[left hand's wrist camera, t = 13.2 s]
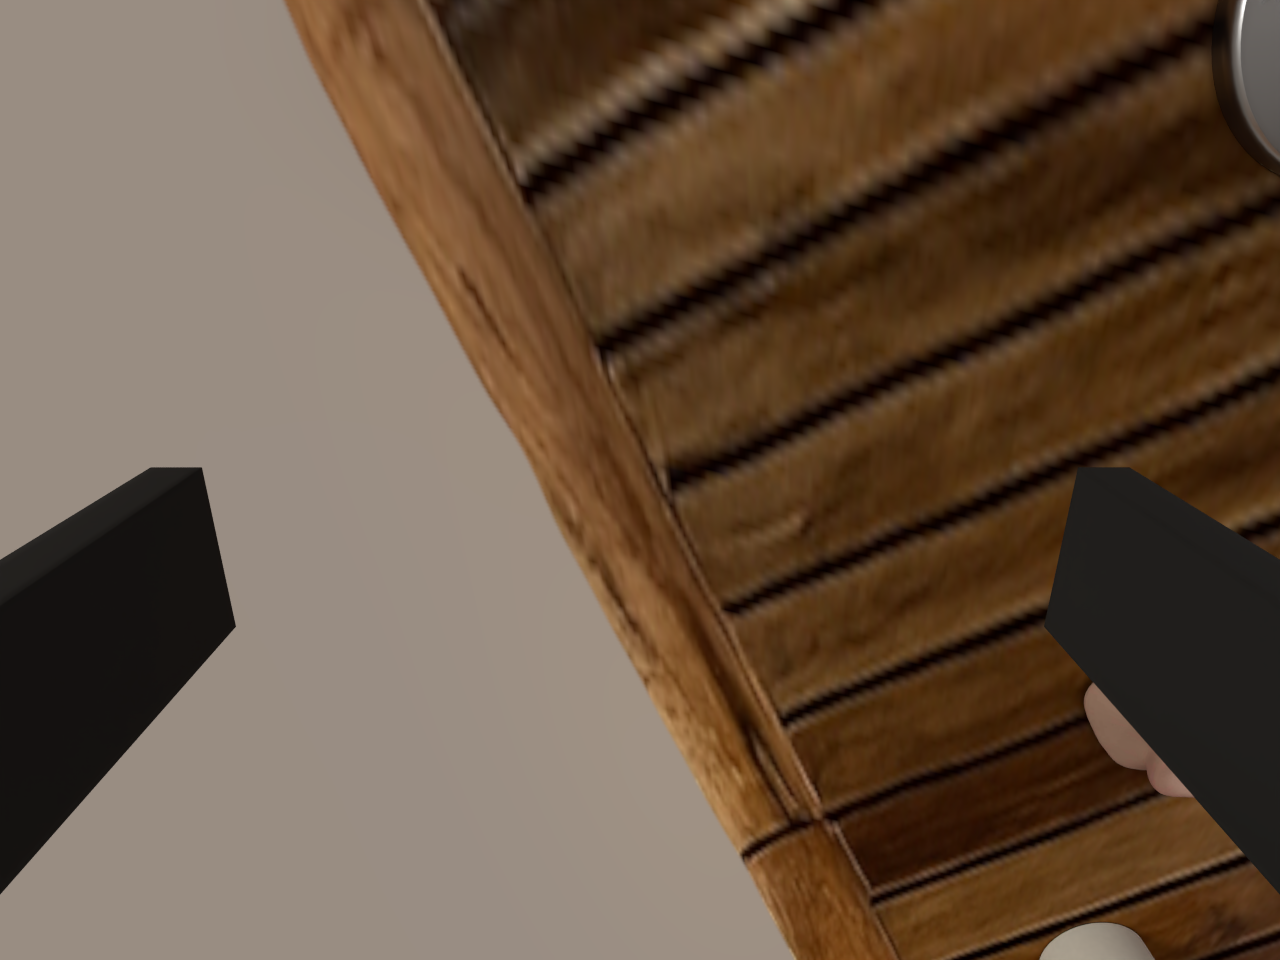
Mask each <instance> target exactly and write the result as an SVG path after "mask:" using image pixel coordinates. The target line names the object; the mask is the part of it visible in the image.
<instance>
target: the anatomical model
mask: <svg viewBox="0 0 1280 960" xmlns="http://www.w3.org/2000/svg"><path fill="white" fill-rule="evenodd" d="M1084 706H1085V711H1086V714H1087V717H1088V720H1089V722H1090V724H1091V726H1092V728H1093V731H1094V733H1095V735H1096V737H1097V739H1098V740H1099V742H1100V744H1101V745H1102V746H1103V747H1104V749H1105V750H1106V751H1107V753H1108V754H1109V755H1110V757H1111V758H1112V759H1113V760H1114V761H1116V762H1117V763H1118V764H1120V765H1122V766H1124V767H1127V768H1131V769H1138V770H1147V773H1148V778H1149V781H1150V783H1151V785H1152V786H1153V787H1154V788H1155V789H1156V790H1157V791H1158V792H1159V793H1161V794H1164V795H1167V796H1174V797H1194V796H1193V795H1192V794H1191V793H1190V792H1189V791H1188V789H1187V788H1186V787H1185V786H1184V785H1183V784H1182V783H1181V782H1180V780H1179V779H1178V778H1177V777H1176V776H1175V775H1174V774H1173V772H1172V771H1171V770H1170V769H1169V768H1168V767H1167V766H1166V764H1165V763H1164V762H1163V761H1162V760H1161V759H1160V758H1159V757H1158V755H1157V754H1156V753H1155V752H1154V751H1153V750H1152V749H1151V747H1150V746H1149V745H1148V744H1147V743H1146V742H1145V741H1144V739H1143V738H1142V737H1141V736H1140V735H1139V734H1138V733H1137V732H1136V730H1135V729H1134V728H1133V727H1132V726H1131V725H1130V724H1129V722H1128V721H1127V720H1126V719H1125V718H1124V717H1123V716H1122V714H1121V713H1120V712H1119V711H1118V710H1117V709H1116V708H1115V707H1114V705H1113V704H1112V703H1111V702H1110V701H1109V700H1108V699H1107V697H1106V696H1105V695H1104V694H1103V693H1102V692H1101V691H1100V689H1099V688H1098V687H1097V686H1096V685H1095V684H1094V683H1092V684H1091V685H1090V687H1089V688H1088V690H1087V692H1086V694H1085V698H1084Z"/></svg>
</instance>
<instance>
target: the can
mask: <svg viewBox="0 0 1280 960" xmlns="http://www.w3.org/2000/svg"><path fill="white" fill-rule="evenodd" d="M1040 960H1155V959H1154V958H1153V956H1152V955H1151V953H1150V951H1149V950H1148V948H1147V947H1146V945H1145V944H1144V942H1143V941H1142V939H1141V938H1140V937H1139V936H1138V935H1137V934H1136V933H1135V932H1134V931H1132V930H1131V929H1129V928H1127V927H1125V926H1122V925H1118V924H1114V923H1091V924H1085V925H1081V926H1078V927H1075V928H1072V929H1070V930H1068V931H1066V932H1064V933H1062V934H1061V935H1059V936H1058V937H1056V938H1055V939H1054V940H1053V941H1051V942H1050V943H1049V944H1048V946H1047V947H1046V948H1045V949H1044V951H1043V952H1042V955H1041V957H1040Z"/></svg>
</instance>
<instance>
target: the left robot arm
mask: <svg viewBox="0 0 1280 960" xmlns="http://www.w3.org/2000/svg"><path fill="white" fill-rule="evenodd" d="M1212 70H1213V78H1214V85H1215V90H1216V94H1217V98H1218V102H1219V105H1220V107H1221V110H1222V113H1223V116H1224V118H1225V120H1226V122H1227V124H1228V126H1229V128H1230V130H1231V131H1232V133H1233V134H1234V136H1235V138H1236V139H1237V141H1238V142H1239V143H1240V144H1241V145H1242V147H1243V148H1244V149H1245V150H1246V151H1247V153H1249V154H1250V155H1251V156H1252V157H1253V158H1254V159H1255V160H1256V161H1257V162H1259V163H1260V164H1261V165H1263V166H1264V167H1266V168H1267V169H1269V170H1270V171H1272V172H1274V173H1276V174H1278V175H1280V0H1219V1H1218V5H1217V9H1216V14H1215V21H1214V27H1213V37H1212ZM235 627H236V625H235V620H234V616H233V611H232V606H231V602H230V597H229V592H228V588H227V583H226V579H225V574H224V569H223V564H222V560H221V555H220V550H219V546H218V541H217V536H216V531H215V527H214V522H213V517H212V513H211V508H210V503H209V499H208V494H207V489H206V485H205V480H204V475H203V471H202V468H149V469H148V470H146V471H144V472H143V473H141V474H139V475H138V476H136V477H134V478H133V479H131V480H130V481H128V482H126V483H125V484H123V485H121V486H120V487H118V488H116V489H115V490H113V491H112V492H110V493H108V494H107V495H105V496H103V497H102V498H100V499H99V500H97V501H95V502H94V503H92V504H90V505H89V506H87V507H86V508H84V509H82V510H81V511H79V512H77V513H76V514H74V515H72V516H71V517H69V518H68V519H66V520H64V521H63V522H61V523H59V524H58V525H56V526H55V527H53V528H51V529H50V530H48V531H46V532H45V533H43V534H42V535H40V536H38V537H37V538H35V539H33V540H32V541H30V542H28V543H27V544H25V545H24V546H22V547H20V548H19V549H17V550H15V551H14V552H12V553H11V554H9V555H7V556H6V557H4V558H3V559H1V560H0V894H1V893H2V892H3V891H4V889H5V888H6V887H7V886H8V885H9V884H10V883H11V881H12V880H13V879H14V878H15V877H16V876H17V875H18V874H19V872H20V871H21V870H22V869H23V868H24V867H25V866H26V864H27V863H28V862H29V861H30V860H31V859H32V858H33V857H34V855H35V854H36V853H37V852H38V851H39V850H40V849H41V847H42V846H43V845H44V844H45V843H46V842H47V841H48V839H49V838H50V837H51V836H52V835H53V834H54V833H55V832H56V830H57V829H58V828H59V827H60V826H61V825H62V824H63V822H64V821H65V820H66V819H67V818H68V817H69V816H70V814H71V813H72V812H73V811H74V810H75V809H76V808H77V807H78V805H79V804H80V803H81V802H82V801H83V800H84V799H85V797H86V796H87V795H88V794H89V793H90V792H91V791H92V789H93V788H94V787H95V786H96V785H97V784H98V783H99V782H100V780H101V779H102V778H103V777H104V776H105V775H106V774H107V772H108V771H109V770H110V769H111V768H112V767H113V766H114V764H115V763H116V762H117V761H118V760H119V759H120V758H121V757H122V755H123V754H124V753H125V752H126V751H127V750H128V749H129V747H130V746H131V745H132V744H133V743H134V742H135V741H136V739H137V738H138V737H139V736H140V735H141V734H142V733H143V732H144V730H145V729H146V728H147V727H148V726H149V725H150V724H151V722H152V721H153V720H154V719H155V718H156V717H157V716H158V714H159V713H160V712H161V711H162V710H163V709H164V708H165V707H166V705H167V704H168V703H169V702H170V701H171V700H172V699H173V697H174V696H175V695H176V694H177V693H178V692H179V691H180V689H181V688H182V687H183V686H184V685H185V684H186V683H187V681H188V680H189V679H190V678H191V677H192V676H193V675H194V674H195V672H196V671H197V670H198V669H199V668H200V667H201V666H202V664H203V663H204V662H205V661H206V660H207V659H208V658H209V656H210V655H211V654H212V653H213V652H214V651H215V650H216V648H217V647H218V646H219V645H220V644H221V643H222V642H223V641H224V639H225V638H226V637H227V636H228V635H229V634H230V633H231V631H232V630H233V629H234V628H235ZM1044 627H1045V628H1046V629H1047V630H1048V632H1049V633H1050V634H1051V635H1052V636H1053V637H1054V638H1055V639H1056V641H1057V642H1058V643H1059V644H1060V645H1061V646H1062V647H1063V649H1064V650H1065V651H1066V652H1067V653H1068V654H1069V655H1070V657H1071V658H1072V659H1073V660H1074V661H1075V662H1076V663H1077V664H1078V666H1079V667H1080V668H1081V669H1082V670H1083V671H1084V672H1085V674H1086V675H1087V676H1088V677H1089V678H1090V679H1091V680H1092V682H1093V683H1094V684H1095V685H1096V686H1097V687H1098V688H1099V689H1100V691H1101V692H1102V693H1103V694H1104V695H1105V696H1106V697H1107V699H1108V700H1109V701H1110V702H1111V703H1112V704H1113V705H1114V707H1115V708H1116V709H1117V710H1118V711H1119V712H1120V713H1121V714H1122V716H1123V717H1124V718H1125V719H1126V720H1127V721H1128V722H1129V724H1130V725H1131V726H1132V727H1133V728H1134V729H1135V730H1136V732H1137V733H1138V734H1139V735H1140V736H1141V737H1142V738H1143V739H1144V741H1145V742H1146V743H1147V744H1148V745H1149V746H1150V747H1151V749H1152V750H1153V751H1154V752H1155V753H1156V754H1157V755H1158V757H1159V758H1160V759H1161V760H1162V761H1163V762H1164V763H1165V764H1166V766H1167V767H1168V768H1169V769H1170V770H1171V771H1172V772H1173V774H1174V775H1175V776H1176V777H1177V778H1178V779H1179V780H1180V782H1181V783H1182V784H1183V785H1184V786H1185V787H1186V788H1187V789H1188V791H1189V792H1190V793H1191V794H1192V795H1193V796H1194V797H1195V799H1196V800H1197V801H1198V802H1199V803H1200V804H1201V805H1202V807H1203V808H1204V809H1205V810H1206V811H1207V812H1208V813H1209V814H1210V816H1211V817H1212V818H1213V819H1214V820H1215V821H1216V822H1217V824H1218V825H1219V826H1220V827H1221V828H1222V829H1223V830H1224V832H1225V833H1226V834H1227V835H1228V836H1229V837H1230V838H1231V839H1232V841H1233V842H1234V843H1235V844H1236V845H1237V846H1238V847H1239V849H1240V850H1241V851H1242V852H1243V853H1244V854H1245V855H1246V857H1247V858H1248V859H1249V860H1250V861H1251V862H1252V863H1253V864H1254V866H1255V867H1256V868H1257V869H1258V870H1259V871H1260V872H1261V874H1262V875H1263V876H1264V877H1265V878H1266V879H1267V880H1268V882H1269V883H1270V884H1271V885H1272V886H1273V887H1274V888H1275V889H1276V891H1277V892H1278V893H1279V894H1280V560H1279V559H1278V558H1276V557H1274V556H1273V555H1271V554H1269V553H1268V552H1266V551H1265V550H1263V549H1261V548H1260V547H1258V546H1256V545H1255V544H1253V543H1252V542H1250V541H1248V540H1247V539H1245V538H1243V537H1242V536H1240V535H1238V534H1237V533H1235V532H1234V531H1232V530H1230V529H1229V528H1227V527H1225V526H1224V525H1222V524H1221V523H1219V522H1217V521H1216V520H1214V519H1212V518H1211V517H1209V516H1208V515H1206V514H1204V513H1203V512H1201V511H1199V510H1198V509H1196V508H1194V507H1193V506H1191V505H1190V504H1188V503H1186V502H1185V501H1183V500H1181V499H1180V498H1178V497H1177V496H1175V495H1173V494H1172V493H1170V492H1168V491H1167V490H1165V489H1164V488H1162V487H1160V486H1159V485H1157V484H1155V483H1154V482H1152V481H1150V480H1149V479H1147V478H1146V477H1144V476H1142V475H1141V474H1139V473H1137V472H1136V471H1134V470H1133V469H1131V468H1078V471H1077V475H1076V480H1075V485H1074V489H1073V494H1072V499H1071V503H1070V508H1069V513H1068V517H1067V522H1066V527H1065V531H1064V536H1063V541H1062V546H1061V550H1060V555H1059V560H1058V564H1057V569H1056V574H1055V578H1054V583H1053V588H1052V592H1051V597H1050V602H1049V606H1048V611H1047V616H1046V620H1045V625H1044Z"/></svg>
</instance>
